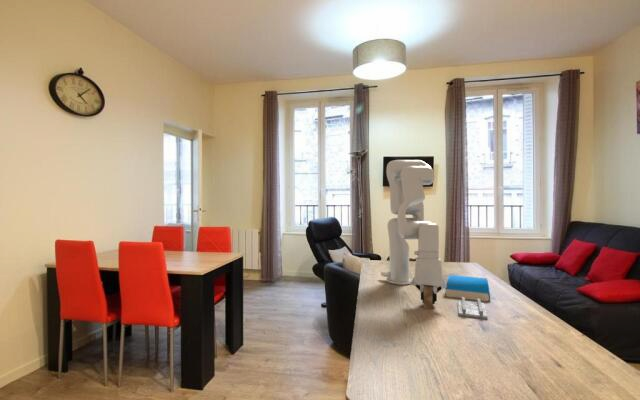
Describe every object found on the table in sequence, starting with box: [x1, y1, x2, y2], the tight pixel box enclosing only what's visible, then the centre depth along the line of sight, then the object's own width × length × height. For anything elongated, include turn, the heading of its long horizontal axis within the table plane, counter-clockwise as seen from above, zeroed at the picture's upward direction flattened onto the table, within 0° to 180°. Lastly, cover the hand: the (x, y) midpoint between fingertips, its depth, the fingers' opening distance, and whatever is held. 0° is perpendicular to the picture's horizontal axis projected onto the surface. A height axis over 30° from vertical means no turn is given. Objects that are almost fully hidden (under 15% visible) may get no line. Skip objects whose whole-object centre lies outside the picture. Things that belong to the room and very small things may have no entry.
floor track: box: [457, 297, 488, 320], centre depth 117 cm, size 15×9×2 cm, turn 157°
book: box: [444, 274, 491, 302], centre depth 142 cm, size 17×4×25 cm
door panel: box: [423, 285, 434, 310], centre depth 123 cm, size 3×8×8 cm, turn 157°
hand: (428, 302), depth 123 cm, fingers closed on door panel, 3 cm apart
